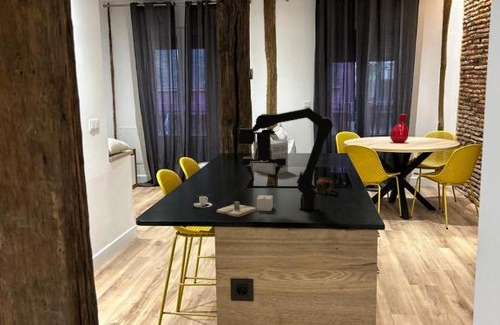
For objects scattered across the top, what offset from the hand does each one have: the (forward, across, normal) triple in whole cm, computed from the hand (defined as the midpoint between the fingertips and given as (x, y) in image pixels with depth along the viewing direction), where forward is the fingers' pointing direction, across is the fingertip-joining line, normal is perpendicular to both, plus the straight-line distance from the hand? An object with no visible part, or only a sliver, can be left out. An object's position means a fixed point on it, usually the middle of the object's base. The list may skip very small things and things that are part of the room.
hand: (264, 181), depth 196 cm
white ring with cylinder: (+12, +31, -3) cm, 34 cm away
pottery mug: (+12, -25, -32) cm, 43 cm away
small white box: (+12, 0, 0) cm, 12 cm away
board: (+12, +11, +6) cm, 17 cm away
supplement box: (+12, +8, -83) cm, 85 cm away
